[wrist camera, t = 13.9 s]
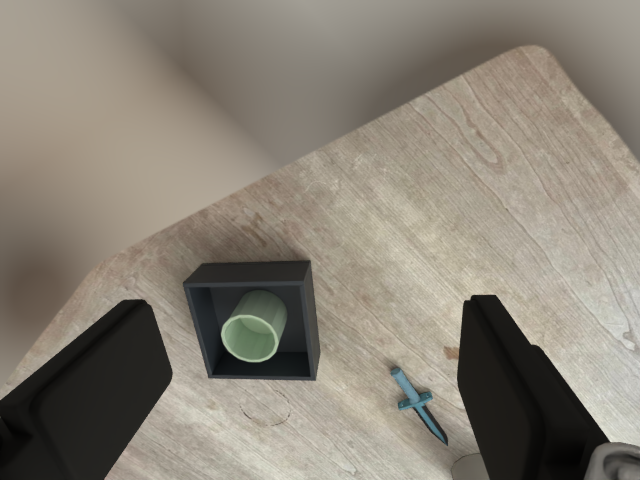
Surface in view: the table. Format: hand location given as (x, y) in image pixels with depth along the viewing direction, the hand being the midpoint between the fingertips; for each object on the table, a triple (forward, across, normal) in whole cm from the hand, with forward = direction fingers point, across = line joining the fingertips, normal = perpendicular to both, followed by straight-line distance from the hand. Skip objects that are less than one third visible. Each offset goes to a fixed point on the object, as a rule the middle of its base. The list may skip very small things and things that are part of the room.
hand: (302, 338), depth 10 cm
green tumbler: (+28, +12, +18) cm, 35 cm away
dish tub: (+28, +12, +18) cm, 36 cm away
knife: (+28, -9, +35) cm, 46 cm away
